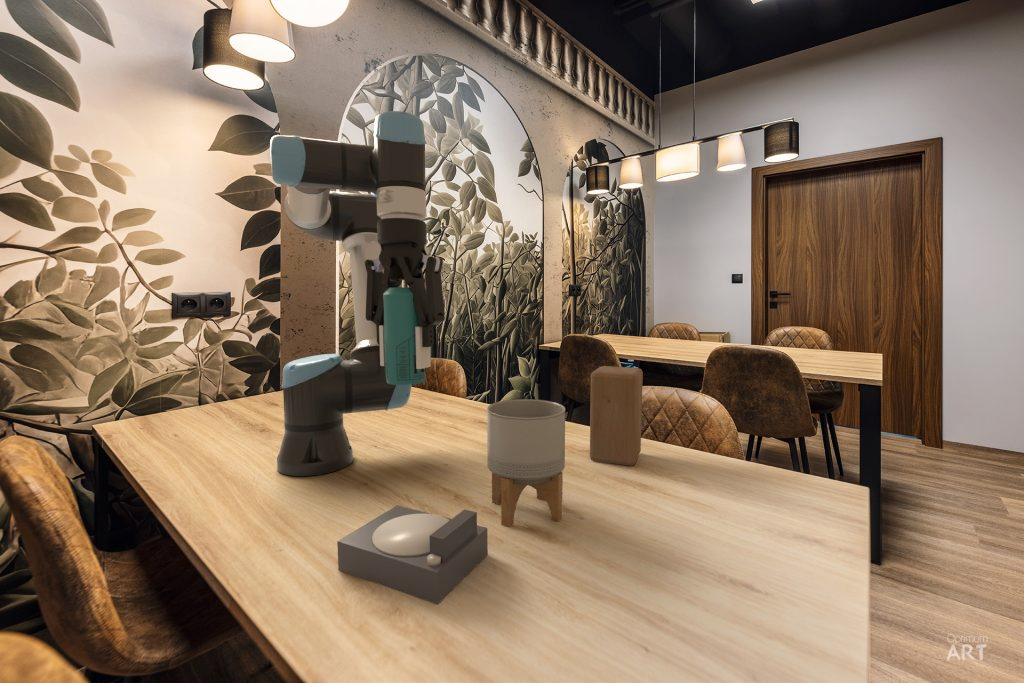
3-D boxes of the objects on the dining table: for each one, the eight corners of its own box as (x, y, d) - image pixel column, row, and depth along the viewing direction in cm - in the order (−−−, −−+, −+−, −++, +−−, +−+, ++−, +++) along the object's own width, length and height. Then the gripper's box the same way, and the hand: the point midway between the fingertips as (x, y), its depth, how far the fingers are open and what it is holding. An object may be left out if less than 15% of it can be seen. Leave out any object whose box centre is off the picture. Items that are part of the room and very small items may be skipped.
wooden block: (588, 461, 104) (590, 371, 102) (598, 448, 113) (599, 365, 111) (635, 467, 100) (637, 374, 98) (641, 453, 110) (643, 367, 108)
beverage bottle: (417, 395, 73) (414, 263, 71) (377, 393, 74) (373, 264, 72) (432, 387, 79) (430, 266, 77) (395, 386, 80) (392, 266, 78)
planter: (541, 537, 72) (541, 422, 70) (472, 516, 78) (471, 410, 77) (576, 505, 83) (578, 404, 81) (513, 489, 89) (513, 396, 88)
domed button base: (338, 569, 63) (336, 519, 62) (397, 529, 74) (396, 486, 73) (437, 604, 56) (436, 548, 55) (487, 554, 67) (487, 507, 66)
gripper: (337, 220, 75) (342, 365, 77) (439, 210, 66) (442, 374, 68) (371, 227, 82) (375, 359, 84) (467, 218, 73) (469, 367, 75)
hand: (405, 366), depth 76 cm, fingers closed on beverage bottle, 6 cm apart
